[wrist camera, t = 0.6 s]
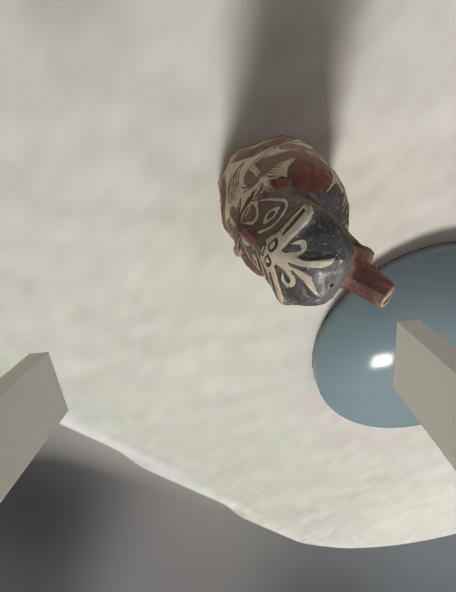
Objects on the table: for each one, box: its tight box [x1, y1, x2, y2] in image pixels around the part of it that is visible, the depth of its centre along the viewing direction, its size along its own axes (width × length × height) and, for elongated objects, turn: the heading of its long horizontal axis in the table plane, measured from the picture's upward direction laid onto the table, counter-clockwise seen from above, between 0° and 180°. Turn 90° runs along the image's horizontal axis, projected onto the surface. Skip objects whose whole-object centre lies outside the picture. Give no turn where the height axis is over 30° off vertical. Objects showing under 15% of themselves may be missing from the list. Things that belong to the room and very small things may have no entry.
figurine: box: [218, 136, 395, 308], centre depth 16 cm, size 7×7×12 cm
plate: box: [312, 242, 456, 428], centre depth 29 cm, size 20×20×1 cm
